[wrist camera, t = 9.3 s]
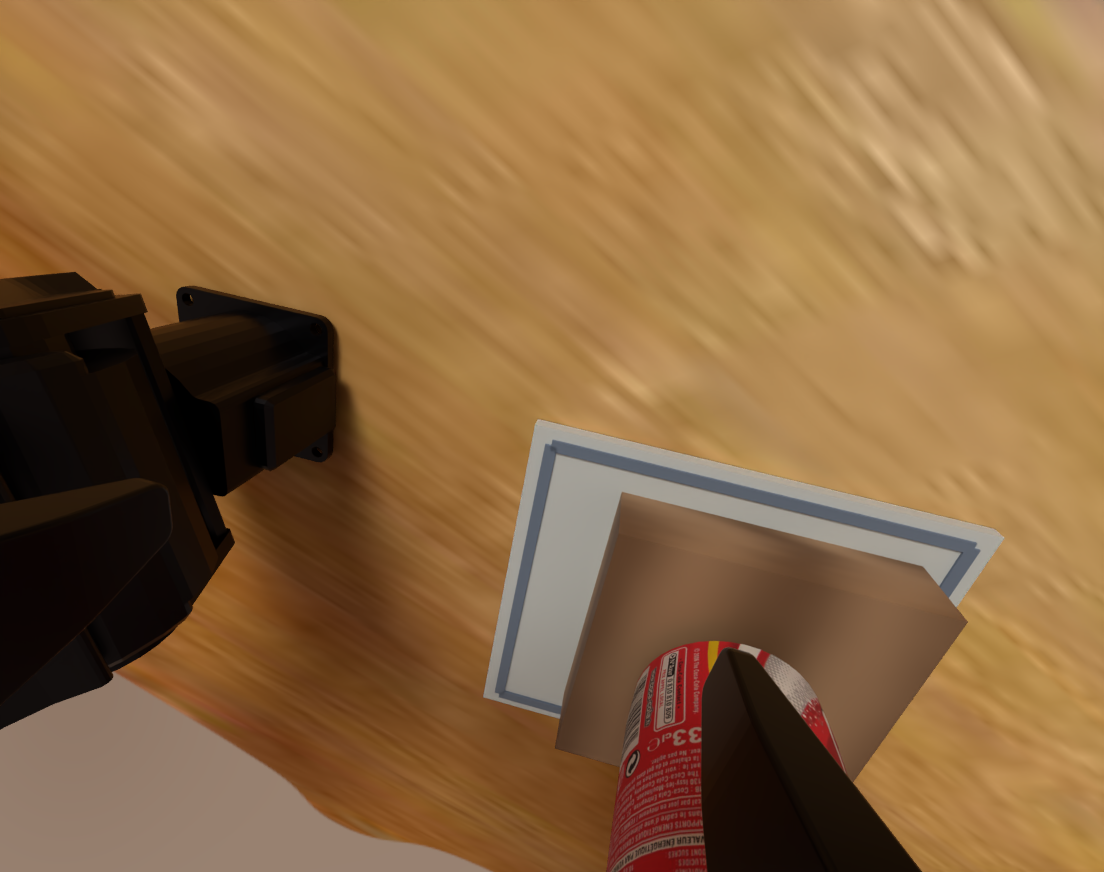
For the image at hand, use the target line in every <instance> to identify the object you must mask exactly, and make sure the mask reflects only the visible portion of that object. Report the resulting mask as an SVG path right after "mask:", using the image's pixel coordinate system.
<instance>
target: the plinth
mask: <svg viewBox="0 0 1104 872" xmlns="http://www.w3.org/2000/svg"><path fill="white" fill-rule="evenodd" d="M967 623H968V622H967V620H966V619H965V618H964V617H963V615H962V614H961V613H960V612H959V610H958V609H957V608H956V607H955V605H954V604H953V603H952V602H951V600H950V599H949V598H948V597H947V596H946V594H945V593H944V592H943V591H942V589H941V588H940V587H939V586H938V584H937V583H936V582H935V581H934V579H933V578H932V577H931V576H930V574H929V573H928V572H927V571H926V569H925V568H924V567H923V566H919V565H915V564H911V563H907V562H903V561H899V560H895V559H891V558H887V557H883V556H879V555H875V554H871V553H867V552H863V551H859V550H855V549H851V548H847V547H843V546H839V545H835V544H831V543H827V542H823V541H819V540H815V539H811V538H807V537H802V536H798V535H794V534H790V533H786V532H782V531H778V530H774V529H770V528H766V527H762V526H758V525H754V524H750V523H746V522H742V521H738V520H734V519H730V518H726V517H722V516H718V515H714V514H710V513H706V512H702V511H698V510H694V509H690V508H686V507H682V506H678V505H674V504H669V503H665V502H661V501H657V500H653V499H649V498H645V497H641V496H637V495H633V494H629V493H625V492H622V493H621V496H620V500H619V503H618V507H617V510H616V514H615V517H614V521H613V524H612V528H611V531H610V535H609V538H608V542H607V545H606V548H605V552H604V555H603V559H602V562H601V566H600V569H599V573H598V576H597V580H596V583H595V587H594V590H593V594H592V597H591V601H590V604H589V608H588V611H587V614H586V618H585V621H584V625H583V628H582V632H581V635H580V639H579V642H578V646H577V649H576V653H575V656H574V660H573V663H572V667H571V670H570V673H569V677H568V680H567V684H566V687H565V691H564V696H563V702H562V708H561V714H560V721H559V727H558V733H557V739H556V745H555V748H556V749H559V750H562V751H566V752H569V753H573V754H576V755H580V756H583V757H587V758H590V759H594V760H597V761H601V762H604V763H608V764H611V765H615V766H618V767H620V764H621V757H622V750H623V743H624V736H625V729H626V723H627V719H628V715H629V711H630V707H631V703H632V700H633V696H634V692H635V688H636V685H637V682H638V679H639V678H640V676H641V674H642V673H643V671H644V670H645V669H646V667H647V666H648V665H649V664H650V663H651V662H652V661H653V660H655V659H656V658H657V657H659V656H660V655H661V654H663V653H665V652H667V651H669V650H671V649H673V648H676V647H679V646H682V645H685V644H690V643H695V642H703V641H724V642H733V643H739V644H744V645H748V646H751V647H754V648H757V649H761V650H763V651H765V652H767V653H769V654H772V655H774V656H776V657H777V658H779V659H781V660H782V661H784V662H785V663H787V664H789V665H790V666H791V667H792V668H793V669H795V670H796V671H797V672H798V673H800V674H801V676H802V677H803V678H804V679H805V680H806V681H807V682H808V683H809V685H810V686H811V688H812V689H813V691H814V692H815V694H816V696H817V698H818V700H819V703H820V705H821V707H822V710H823V712H824V714H825V716H826V719H827V721H828V723H829V726H830V728H831V730H832V733H833V735H834V737H835V740H836V742H837V745H838V747H839V750H840V754H841V757H842V760H843V763H844V766H845V769H846V772H847V775H848V777H849V778H850V780H851V781H852V782H854V780H855V779H856V777H857V776H858V775H859V773H860V772H861V770H862V769H863V768H864V766H865V765H866V764H867V762H868V761H869V759H870V758H871V757H872V755H873V754H874V752H875V751H876V750H877V748H878V747H879V745H880V744H881V743H882V741H883V740H884V738H885V737H886V736H887V734H888V733H889V731H890V730H891V729H892V727H893V726H894V724H895V723H896V722H897V720H898V719H899V718H900V716H901V715H902V713H903V712H904V711H905V709H906V708H907V706H908V705H909V704H910V702H911V701H912V699H913V698H914V697H915V695H916V694H917V692H918V691H919V690H920V688H921V687H922V685H923V684H924V683H925V681H926V680H927V678H928V677H929V676H930V674H931V673H932V671H933V670H934V669H935V667H936V666H937V665H938V663H939V662H940V660H941V659H942V658H943V656H944V655H945V653H946V652H947V651H948V649H949V648H950V646H951V645H952V644H953V642H954V641H955V639H956V638H957V637H958V635H959V634H960V632H961V631H962V630H963V628H964V627H965V625H966V624H967Z"/></svg>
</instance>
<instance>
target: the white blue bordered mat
mask: <svg viewBox="0 0 1104 872" xmlns="http://www.w3.org/2000/svg"><path fill="white" fill-rule="evenodd" d="M622 492H625V493H629V494H633V495H637V496H641V497H645V498H649V499H653V500H657V501H661V502H665V503H669V504H674V505H678V506H682V507H686V508H690V509H694V510H698V511H702V512H706V513H710V514H714V515H718V516H722V517H726V518H730V519H734V520H738V521H742V522H746V523H750V524H754V525H758V526H762V527H766V528H770V529H774V530H778V531H782V532H786V533H790V534H794V535H798V536H802V537H807V538H811V539H815V540H819V541H823V542H827V543H831V544H835V545H839V546H843V547H847V548H851V549H855V550H859V551H863V552H867V553H871V554H875V555H879V556H883V557H887V558H891V559H895V560H899V561H903V562H907V563H911V564H915V565H919V566H923V567H924V568H925V569H926V571H927V572H928V573H929V574H930V576H931V577H932V578H933V579H934V581H935V582H936V583H937V584H938V586H939V587H940V588H941V589H942V591H943V592H944V593H945V594H946V596H947V597H948V598H949V599H950V600H951V602H952V603H953V604H954V605H955V607H957V606H958V604H959V603H960V602H961V600H962V599H963V597H964V596H965V594H966V593H967V591H968V590H969V589H970V587H971V586H972V584H973V583H974V581H975V580H976V578H977V577H978V576H979V574H980V573H981V571H982V570H983V568H984V567H985V565H986V564H987V563H988V561H989V560H990V558H991V557H992V555H993V554H994V552H995V551H996V550H997V548H998V547H999V545H1000V544H1001V542H1002V541H1003V540H1004V537H1003V536H1002V535H1001V534H1000V533H999V532H997V531H996V530H995V529H993V528H989V527H985V526H980V525H976V524H972V523H968V522H964V521H960V520H956V519H951V518H947V517H943V516H939V515H935V514H931V513H926V512H922V511H918V510H914V509H910V508H906V507H901V506H897V505H893V504H889V503H885V502H881V501H877V500H872V499H868V498H864V497H860V496H856V495H852V494H847V493H843V492H839V491H835V490H831V489H827V488H823V487H818V486H814V485H810V484H806V483H802V482H798V481H793V480H789V479H785V478H781V477H777V476H773V475H769V474H764V473H760V472H756V471H752V470H748V469H744V468H739V467H735V466H731V465H727V464H723V463H719V462H714V461H710V460H706V459H702V458H698V457H694V456H690V455H685V454H681V453H677V452H673V451H669V450H665V449H660V448H656V447H652V446H648V445H644V444H640V443H636V442H631V441H627V440H623V439H619V438H615V437H611V436H606V435H602V434H598V433H594V432H590V431H586V430H582V429H577V428H573V427H569V426H565V425H561V424H557V423H552V422H548V421H544V420H540V419H538V420H537V422H536V424H535V428H534V433H533V439H532V444H531V449H530V454H529V460H528V465H527V470H526V475H525V481H524V486H523V491H522V496H521V501H520V507H519V512H518V517H517V522H516V528H515V533H514V538H513V543H512V549H511V554H510V559H509V564H508V570H507V575H506V580H505V585H504V591H503V596H502V601H501V606H500V611H499V617H498V622H497V627H496V632H495V638H494V643H493V648H492V653H491V659H490V664H489V669H488V674H487V680H486V685H485V690H484V695H483V697H484V698H488V699H491V700H495V701H498V702H502V703H505V704H509V705H513V706H516V707H520V708H523V709H527V710H530V711H534V712H537V713H541V714H544V715H548V716H551V717H555V718H559V719H560V714H561V708H562V702H563V696H564V691H565V687H566V684H567V680H568V677H569V673H570V670H571V667H572V663H573V660H574V656H575V653H576V649H577V646H578V642H579V639H580V635H581V632H582V628H583V625H584V621H585V618H586V614H587V611H588V608H589V604H590V601H591V597H592V594H593V590H594V587H595V583H596V580H597V576H598V573H599V569H600V566H601V562H602V559H603V555H604V552H605V548H606V545H607V542H608V538H609V535H610V531H611V528H612V524H613V521H614V517H615V514H616V510H617V507H618V503H619V500H620V496H621V493H622Z"/></svg>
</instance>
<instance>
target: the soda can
mask: <svg viewBox="0 0 1104 872" xmlns="http://www.w3.org/2000/svg"><path fill="white" fill-rule="evenodd" d="M726 647H731V648H735V649H738V650H741V651H745V652H748V653H750V654H752V655H753V656H754V657H755V658H756V659H757V660H758V661H759V662H760V664H761V665H762V666H763V668H764V669H765V670H766V671H767V673H768V674H769V675H770V677H771V678H772V679H773V680H774V682H775V683H776V684H777V686H778V687H779V688H780V689H781V691H782V692H783V693H784V695H785V696H786V697H787V698H788V700H789V701H790V702H791V704H792V705H793V706H794V707H795V709H796V710H797V711H798V713H799V714H800V715H801V717H802V718H803V719H804V720H805V722H806V723H807V724H808V726H809V727H810V728H811V729H812V731H813V732H814V733H815V735H816V736H817V737H818V738H819V740H820V741H821V742H822V744H823V745H824V746H825V747H826V749H827V750H828V751H829V753H830V754H831V755H832V756H833V758H834V759H835V760H836V762H837V763H838V764H839V765H840V767H841V768H842V769H843V771H844V772H845V773H846V774H847V772H846V769H845V766H844V763H843V760H842V757H841V754H840V750H839V747H838V745H837V742H836V740H835V737H834V735H833V733H832V730H831V728H830V726H829V723H828V721H827V719H826V716H825V714H824V712H823V710H822V707H821V705H820V703H819V700H818V698H817V696H816V694H815V692H814V691H813V689H812V688H811V686H810V685H809V683H808V682H807V681H806V680H805V679H804V678H803V677H802V676H801V674H800V673H798V672H797V671H796V670H795V669H793V668H792V667H791V666H790V665H789V664H787V663H785V662H784V661H782V660H781V659H779V658H777V657H776V656H774V655H772V654H769V653H767V652H765V651H763V650H761V649H757V648H754V647H751V646H748V645H744V644H739V643H733V642H724V641H703V642H695V643H690V644H685V645H682V646H679V647H676V648H673V649H671V650H669V651H667V652H665V653H663V654H661V655H660V656H659V657H657V658H656V659H655V660H653V661H652V662H651V663H650V664H649V665H648V666H647V667H646V669H645V670H644V671H643V673H642V674H641V676H640V678H639V679H638V682H637V685H636V688H635V692H634V696H633V700H632V703H631V707H630V711H629V715H628V719H627V723H626V729H625V736H624V743H623V750H622V757H621V764H620V771H619V778H618V786H617V793H616V801H615V808H614V816H613V824H612V831H611V839H610V847H609V855H608V863H607V870H606V872H707V864H706V854H705V844H704V833H703V822H702V808H701V707H702V691H703V686H704V683H705V681H706V679H707V677H708V675H709V673H710V671H711V669H712V667H713V665H714V663H715V661H716V659H717V657H718V655H719V653H720V652H721V651H722V649H724V648H726ZM847 776H848V775H847Z"/></svg>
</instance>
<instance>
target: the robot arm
mask: <svg viewBox="0 0 1104 872" xmlns="http://www.w3.org/2000/svg"><path fill="white" fill-rule="evenodd" d="M190 295H191V296H192V298H193V300H194V302H192V301H191V299H190ZM176 298H177V306H178V315H179V322H178V323H174V324H169V325H165V326H161V327H156V328H152V329H150V328H149V325H148V323H147V320H146V317H145V315H144V313H146V312H148V311H147V309H146V306H145V303H144V301H143V298H142V295H141V294H127V295H114V293H113V290H101V289H96V288H95V287H94V286H93V285H91V284H90V283H89V282H88V281H86V280H85V279H84V278H82V277H81V276H80V275H79V274H77V273H76V272H69V273H57V274H46V275H36V276H26V277H15V278H5V279H0V730H1V729H2V728H4V727H6V726H8V725H10V724H12V723H15V722H17V721H19V720H21V719H23V718H25V717H27V716H29V715H31V714H34V713H36V712H38V711H40V710H42V709H44V708H46V707H48V706H50V705H53V704H55V703H58V702H61V701H63V700H66V699H69V698H72V697H74V696H77V695H80V694H83V693H86V692H88V691H91V690H94V689H97V688H100V687H102V686H104V685H105V684H107V683H109V681H111V680H112V678H113V674H112V672H113V671H115V670H118V669H120V668H122V667H124V666H125V665H127V664H129V663H131V662H132V661H134V660H136V659H138V658H140V657H141V656H143V655H144V654H146V653H147V652H148V651H150V650H151V649H153V648H154V647H156V646H157V645H158V644H160V643H161V642H162V641H163V640H164V639H165V638H166V637H168V636H169V635H170V634H171V633H172V632H173V631H174V630H175V628H176V627H177V626H178V625H179V624H181V623H182V622H183V621H185V619H186V618H187V617H188V615H189V614H190V613H191V611H192V609H193V606H192V605H193V604H194V602H195V601H196V599H197V598H198V596H199V595H200V594H201V592H202V591H203V589H204V588H205V586H206V585H207V583H208V582H209V580H210V579H211V577H212V576H213V574H214V573H215V572H216V570H217V569H218V567H219V566H220V564H221V563H222V561H223V560H224V558H225V557H226V555H227V554H228V552H229V551H230V550H231V548H232V547H233V545H234V543H235V541H234V539H233V536H232V533H231V531H230V529H228V528H226V527H225V524H224V522H223V519H222V516H221V514H220V511H219V509H218V506H217V503H216V501H215V498H214V495H217V496H225V495H227V494H228V493H230V492H231V491H233V490H234V489H236V488H237V487H239V486H240V485H242V484H243V483H245V482H246V481H248V480H249V479H251V478H252V477H254V476H255V475H257V474H258V473H260V472H261V471H263V470H264V469H265V470H269V471H272V470H274V469H276V468H277V467H279V466H280V465H282V464H283V463H284V462H286V461H287V460H289V459H290V458H292V457H293V456H296V457H300V458H304V459H308V460H311V461H315V462H323V461H325V460H327V459H328V458H329V457H330V456H331V455H332V452H333V429H334V428H335V426H336V374H335V372H334V370H333V326H332V324H331V322H330V321H329V320H328V319H327V318H326V317H324V316H322V315H317V314H313V313H309V312H305V311H300V310H296V309H292V308H287V307H283V306H279V305H275V304H270V303H266V302H262V301H257V300H253V299H249V298H245V297H240V296H236V295H232V294H227V293H223V292H219V291H214V290H210V289H206V288H202V287H197V286H185V287H181V288H179V289H178V291H177V294H176ZM316 324H318V325H319V326H320V327H321V329H322V333H319V332H318V331H317V330H316ZM317 447H318V448H320V449H321V450H322V453H320V452H319V451H318V450H317ZM701 808H702V822H703V833H704V844H705V854H706V864H707V872H922V871H921V870H920V868H919V867H918V866H917V864H916V863H915V862H914V861H913V859H912V858H911V857H910V855H909V854H908V853H907V852H906V850H905V849H904V848H903V846H902V845H901V844H900V843H899V841H898V840H897V839H896V837H895V836H894V835H893V834H892V832H891V831H890V830H889V828H888V827H887V826H886V825H885V823H884V822H883V821H882V819H881V818H880V817H879V816H878V814H877V813H876V812H875V810H874V809H873V808H872V807H871V805H870V804H869V803H868V801H867V800H866V799H865V798H864V796H863V795H862V794H861V792H860V791H859V790H858V789H857V787H856V786H855V785H854V783H853V782H852V781H851V780H850V778H849V777H848V776H847V774H846V773H845V772H844V771H843V769H842V768H841V767H840V765H839V764H838V763H837V762H836V760H835V759H834V758H833V756H832V755H831V754H830V753H829V751H828V750H827V749H826V747H825V746H824V745H823V744H822V742H821V741H820V740H819V738H818V737H817V736H816V735H815V733H814V732H813V731H812V729H811V728H810V727H809V726H808V724H807V723H806V722H805V720H804V719H803V718H802V717H801V715H800V714H799V713H798V711H797V710H796V709H795V707H794V706H793V705H792V704H791V702H790V701H789V700H788V698H787V697H786V696H785V695H784V693H783V692H782V691H781V689H780V688H779V687H778V686H777V684H776V683H775V682H774V680H773V679H772V678H771V677H770V675H769V674H768V673H767V671H766V670H765V669H764V668H763V666H762V665H761V664H760V662H759V661H758V660H757V659H756V658H755V657H754V656H753V655H752V654H750V653H748V652H745V651H741V650H738V649H735V648H731V647H726V648H724V649H722V651H721V652H720V653H719V655H718V657H717V659H716V661H715V663H714V665H713V667H712V669H711V671H710V673H709V675H708V677H707V679H706V681H705V683H704V686H703V691H702V707H701Z"/></svg>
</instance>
